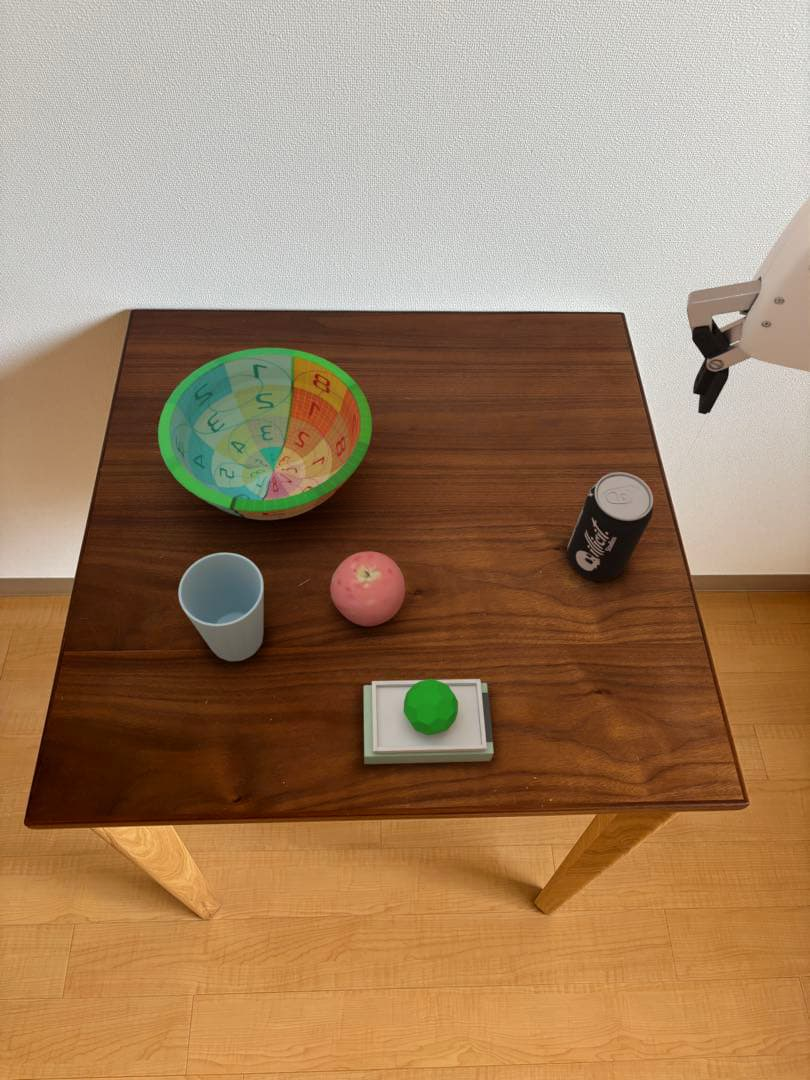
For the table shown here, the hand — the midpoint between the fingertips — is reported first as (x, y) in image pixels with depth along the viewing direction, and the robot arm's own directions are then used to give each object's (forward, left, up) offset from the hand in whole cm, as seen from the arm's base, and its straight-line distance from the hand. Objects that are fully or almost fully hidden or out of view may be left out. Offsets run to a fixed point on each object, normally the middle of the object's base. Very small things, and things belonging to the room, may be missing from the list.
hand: (772, 414), depth 58 cm
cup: (+40, +13, -34) cm, 54 cm away
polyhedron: (+19, +17, -31) cm, 40 cm away
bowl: (+43, -7, -34) cm, 55 cm away
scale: (+19, +17, -33) cm, 42 cm away
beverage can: (+6, -7, -34) cm, 35 cm away
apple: (+28, +6, -34) cm, 44 cm away
